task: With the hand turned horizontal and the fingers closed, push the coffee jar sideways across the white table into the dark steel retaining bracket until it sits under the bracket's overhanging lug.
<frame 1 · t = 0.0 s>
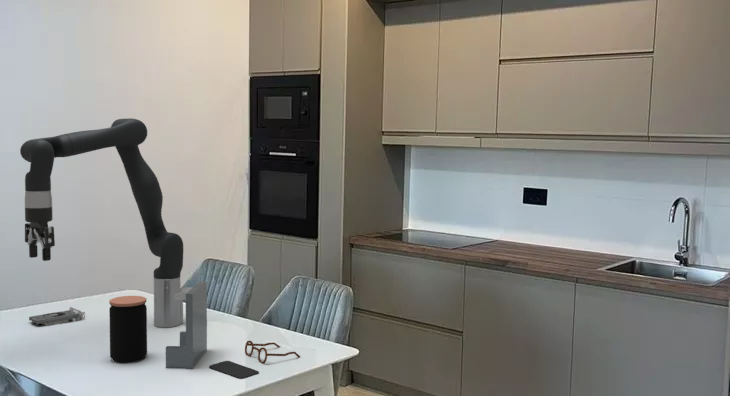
hand: (39, 258, 208), 29 cm above the table, tool pointing down, fingers open, 8 cm apart
bracket: (172, 358, 207), on the table
coffee jar: (128, 358, 207), on the table
phone: (233, 372, 198), on the table
glasses: (272, 357, 212), on the table
graphics card: (55, 322, 249), on the table
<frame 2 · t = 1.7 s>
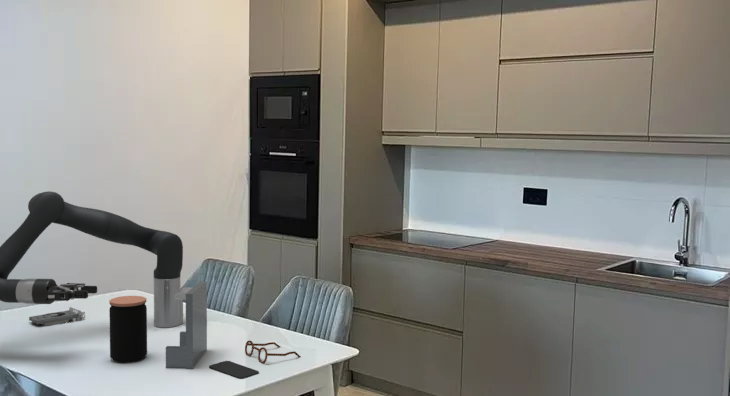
hand: (92, 292, 206), 20 cm above the table, tool horizontal, fingers open, 6 cm apart
nothing on the table moved.
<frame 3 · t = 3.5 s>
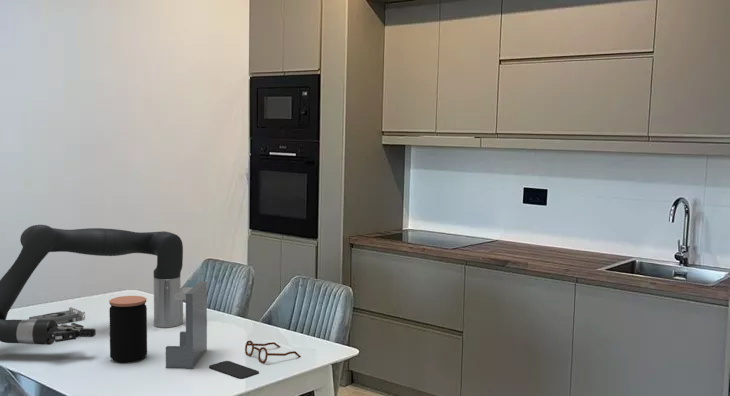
hand: (94, 332, 206), 8 cm above the table, tool horizontal, fingers closed
nothing on the table moved.
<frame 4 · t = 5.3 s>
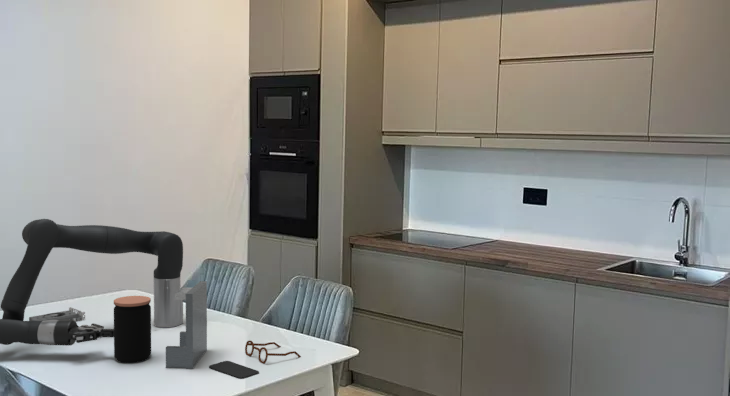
hand: (115, 333, 207), 8 cm above the table, tool horizontal, fingers closed
coffee jar: (132, 358, 207), on the table, touching gripper
everything else where it was.
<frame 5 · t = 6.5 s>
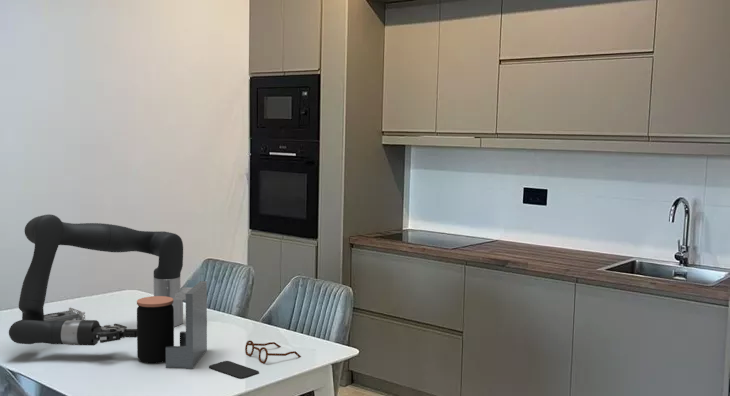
hand: (138, 333, 207), 8 cm above the table, tool horizontal, fingers closed
coffee jar: (155, 359, 207), on the table, touching gripper
everything else where it was.
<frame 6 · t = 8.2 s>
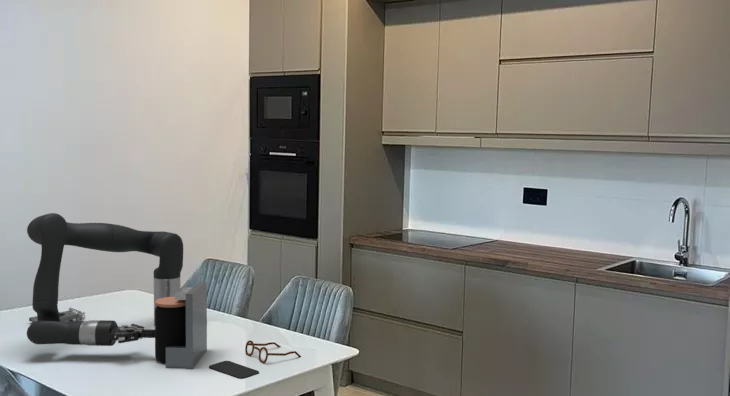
hand: (155, 333, 207), 8 cm above the table, tool horizontal, fingers closed
coffee jar: (173, 359, 207), on the table, touching gripper
everything else where it was.
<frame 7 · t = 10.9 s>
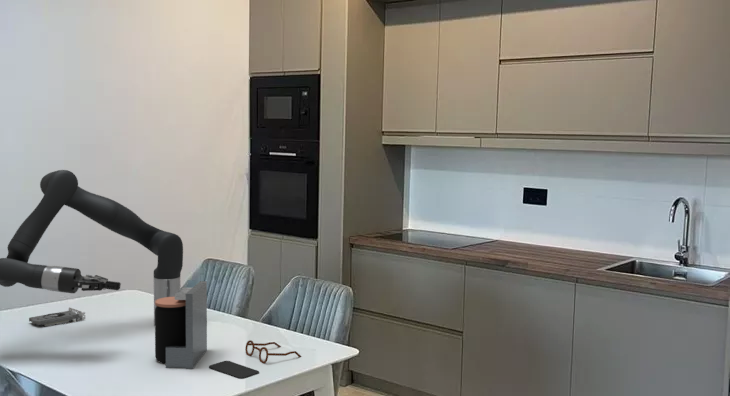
hand: (119, 286, 208), 21 cm above the table, tool horizontal, fingers closed
coffee jar: (173, 359, 207), on the table
everything else where it was.
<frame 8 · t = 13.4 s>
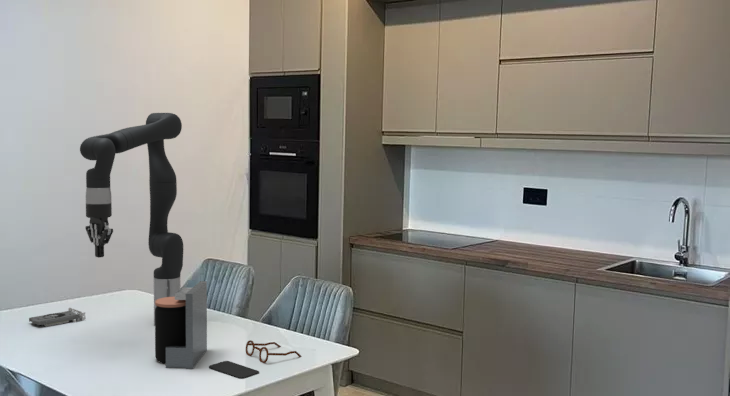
hand: (99, 256, 215), 29 cm above the table, tool pointing down, fingers closed
at the end: coffee jar 0.7 cm from the bracket (horizontally); coffee jar tilted 0°; coffee jar moved 13.6 cm from its start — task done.
